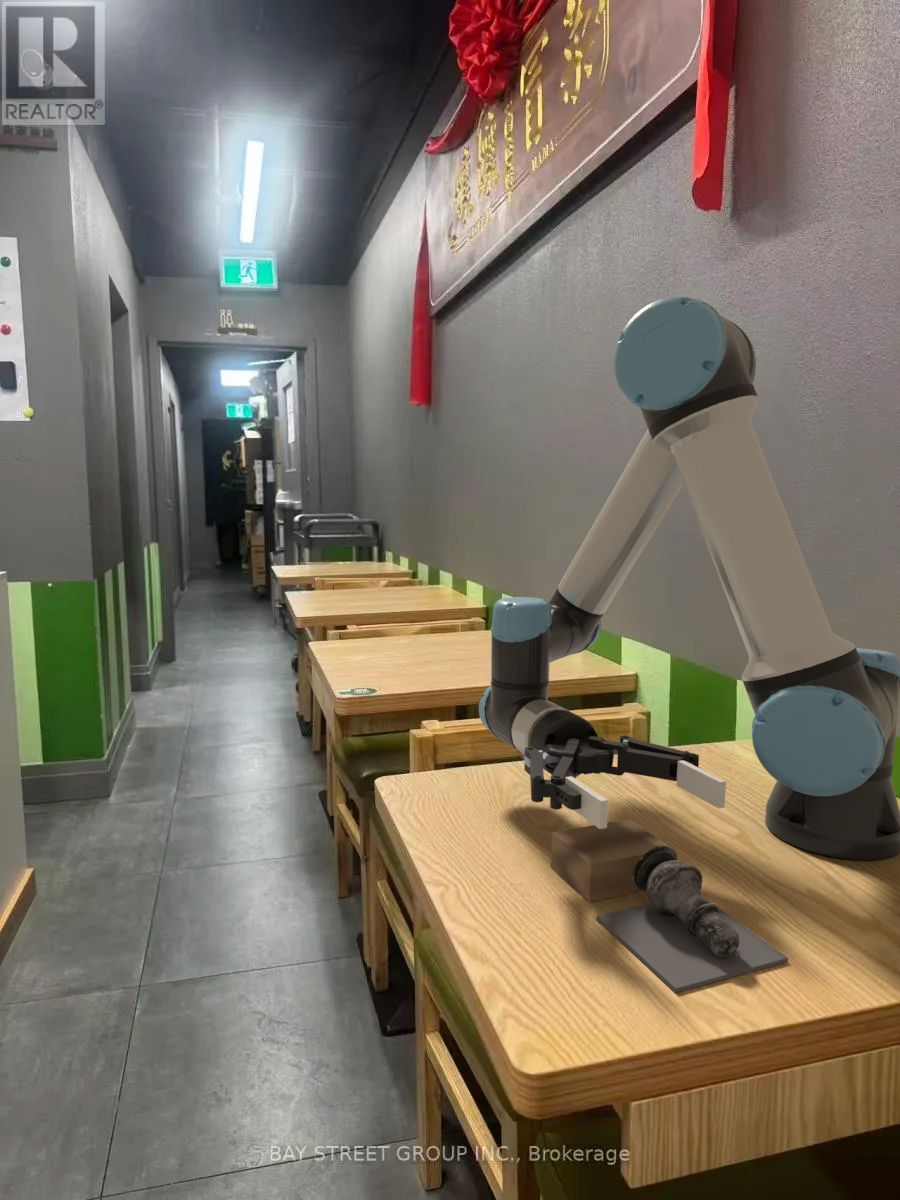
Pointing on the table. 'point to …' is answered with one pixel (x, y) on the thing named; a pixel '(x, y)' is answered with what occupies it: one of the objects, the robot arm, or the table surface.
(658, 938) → the mat
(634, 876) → the salt shaker
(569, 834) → the ledge block
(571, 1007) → the table surface
